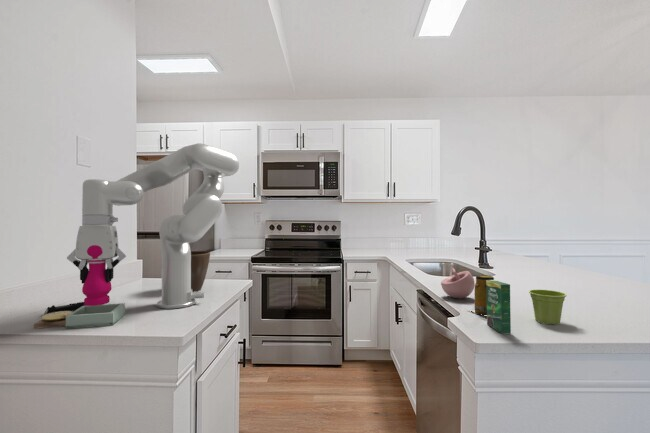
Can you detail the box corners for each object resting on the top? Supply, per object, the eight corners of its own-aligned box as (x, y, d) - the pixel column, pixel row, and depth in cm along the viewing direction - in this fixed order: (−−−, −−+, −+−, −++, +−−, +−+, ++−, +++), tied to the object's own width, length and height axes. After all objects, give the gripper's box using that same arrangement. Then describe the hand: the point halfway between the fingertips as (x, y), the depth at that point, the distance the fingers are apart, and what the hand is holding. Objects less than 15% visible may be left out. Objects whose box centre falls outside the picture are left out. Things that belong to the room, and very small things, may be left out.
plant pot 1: (209, 293, 137) (209, 254, 137) (169, 295, 133) (169, 255, 133) (211, 286, 151) (211, 250, 151) (175, 288, 147) (175, 251, 147)
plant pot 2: (523, 320, 100) (523, 291, 100) (536, 315, 106) (536, 287, 106) (559, 329, 93) (559, 297, 93) (571, 322, 98) (571, 293, 98)
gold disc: (77, 316, 103) (77, 310, 103) (66, 323, 96) (66, 316, 96) (49, 318, 101) (49, 312, 101) (36, 325, 94) (36, 318, 94)
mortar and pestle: (438, 294, 136) (438, 265, 136) (469, 295, 134) (469, 266, 134) (444, 301, 124) (444, 270, 124) (478, 302, 122) (478, 271, 122)
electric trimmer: (103, 309, 115) (103, 299, 115) (45, 317, 104) (45, 307, 104) (101, 307, 118) (101, 298, 118) (43, 315, 107) (44, 305, 107)
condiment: (484, 309, 113) (484, 273, 113) (506, 316, 105) (506, 278, 105) (467, 311, 110) (467, 275, 111) (488, 318, 103) (488, 279, 103)
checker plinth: (79, 317, 103) (79, 313, 103) (67, 325, 96) (67, 321, 96) (48, 319, 101) (48, 315, 101) (34, 328, 93) (34, 323, 93)
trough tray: (124, 314, 107) (124, 303, 107) (113, 325, 96) (113, 312, 96) (82, 317, 104) (82, 305, 104) (65, 329, 93) (65, 316, 93)
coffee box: (485, 324, 97) (485, 279, 97) (495, 324, 97) (495, 278, 97) (500, 334, 89) (500, 284, 89) (511, 333, 89) (511, 284, 89)
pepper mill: (75, 305, 97) (76, 236, 97) (96, 299, 104) (97, 235, 104) (97, 307, 96) (98, 236, 96) (117, 301, 103) (117, 235, 103)
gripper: (133, 221, 106) (132, 278, 106) (69, 221, 101) (68, 281, 101) (126, 221, 99) (125, 283, 99) (57, 221, 94) (56, 286, 94)
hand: (96, 281), depth 100 cm, fingers closed on pepper mill, 5 cm apart
